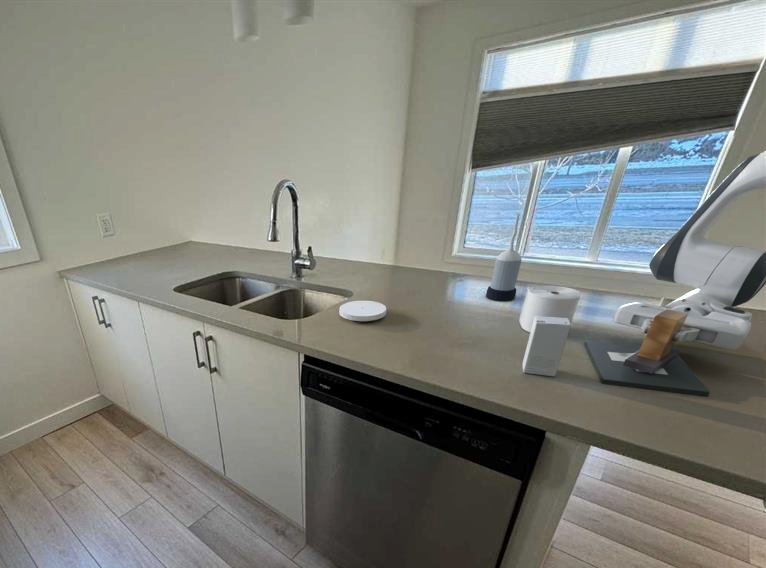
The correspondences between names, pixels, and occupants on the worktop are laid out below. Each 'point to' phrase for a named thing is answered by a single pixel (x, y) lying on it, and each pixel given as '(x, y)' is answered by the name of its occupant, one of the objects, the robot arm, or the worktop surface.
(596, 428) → the worktop surface
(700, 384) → the slate board
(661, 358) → the eraser
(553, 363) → the cosmetic box
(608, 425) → the worktop surface
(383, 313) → the plastic lid
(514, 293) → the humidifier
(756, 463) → the worktop surface
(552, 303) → the toilet tissue
